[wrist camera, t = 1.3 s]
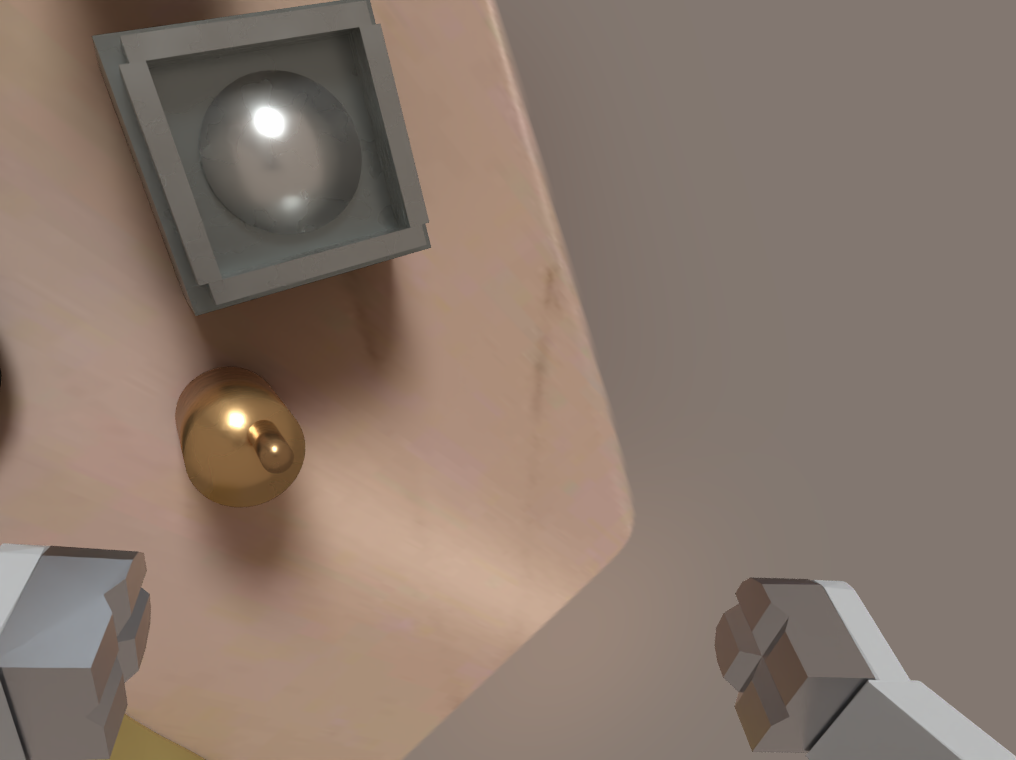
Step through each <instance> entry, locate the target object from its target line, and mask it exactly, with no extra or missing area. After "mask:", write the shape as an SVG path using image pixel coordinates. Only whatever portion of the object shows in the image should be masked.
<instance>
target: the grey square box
mask: <svg viewBox="0 0 1016 760" xmlns="http://www.w3.org/2000/svg"><path fill="white" fill-rule="evenodd" d="M92 38H93V43H94V47H95V52H96V57H97V61H98V65H99V68H100V71H101V73H102V76H103V79H104V81H105V84H106V87H107V89H108V92H109V95H110V98H111V100H112V103H113V106H114V108H115V111H116V114H117V116H118V119H119V122H120V124H121V127H122V130H123V132H124V135H125V138H126V141H127V143H128V146H129V149H130V151H131V154H132V157H133V159H134V162H135V165H136V167H137V170H138V173H139V175H140V178H141V181H142V183H143V186H144V189H145V192H146V194H147V197H148V200H149V202H150V205H151V208H152V210H153V213H154V216H155V218H156V221H157V224H158V226H159V229H160V232H161V235H162V237H163V240H164V243H165V245H166V248H167V251H168V253H169V256H170V259H171V261H172V264H173V267H174V269H175V272H176V275H177V277H178V280H179V283H180V286H181V288H182V291H183V294H184V296H185V299H186V300H187V302H188V304H189V305H190V307H191V309H192V310H193V312H194V314H195V315H196V316H197V315H201V314H204V313H208V312H211V311H214V310H218V309H221V308H225V307H228V306H232V305H235V304H239V303H242V302H245V301H249V300H252V299H256V298H259V297H263V296H266V295H270V294H273V293H276V292H280V291H283V290H287V289H290V288H294V287H297V286H301V285H304V284H307V283H311V282H314V281H318V280H321V279H325V278H328V277H332V276H335V275H338V274H342V273H345V272H349V271H352V270H356V269H359V268H363V267H366V266H369V265H373V264H376V263H380V262H383V261H387V260H390V259H394V258H397V257H400V256H404V255H407V254H411V253H414V252H418V251H421V250H425V249H428V248H431V245H430V241H429V237H428V233H427V229H426V225H425V223H429V219H428V215H427V211H426V207H425V203H424V199H423V195H422V191H421V187H420V183H419V179H418V175H417V171H416V167H415V163H414V158H413V154H412V150H411V146H410V142H409V138H408V134H407V130H406V126H405V122H404V118H403V114H402V110H401V106H400V102H399V97H398V93H397V89H396V85H395V81H394V77H393V73H392V69H391V65H390V61H389V57H388V53H387V49H386V45H385V41H384V37H383V32H382V28H381V24H376V23H375V19H374V15H373V11H372V7H371V3H370V0H341V1H334V2H327V3H319V4H312V5H305V6H298V7H291V8H284V9H277V10H270V11H263V12H256V13H249V14H242V15H235V16H228V17H221V18H214V19H207V20H200V21H193V22H186V23H179V24H172V25H165V26H158V27H151V28H144V29H137V30H130V31H123V32H116V33H109V34H102V35H95V36H92Z"/></svg>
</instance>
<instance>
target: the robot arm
mask: <svg viewBox="0 0 1016 760" xmlns="http://www.w3.org/2000/svg"><path fill="white" fill-rule="evenodd" d="M146 572H147V568H146V562H145V556H144V553H142V552H135V551H120V550H105V549H91V548H76V547H61V546H42V545H24V544H6V543H3V544H2V545H1V546H0V760H100V759H110V756H111V753H112V750H113V747H114V744H115V741H116V738H117V735H118V732H119V729H120V726H121V723H122V720H123V717H124V714H125V711H126V708H127V705H128V704H127V697H126V691H125V684H124V683H125V682H126V681H127V680H128V679H129V678H131V677H132V676H133V675H134V674H135V673H136V672H137V671H139V668H140V665H141V662H142V658H143V655H144V652H145V649H146V643H147V638H148V633H149V628H150V616H151V603H150V594H149V593H148V592H146V591H145V590H144V589H143V588H142V587H141V586H142V583H143V580H144V577H145V575H146ZM735 594H736V597H737V600H738V602H739V604H737V605H736V606H734V607H733V608H731V609H729V610H728V611H726V612H725V613H724V614H723V616H722V618H721V620H720V621H719V623H718V625H717V627H716V636H715V651H716V657H717V662H718V664H719V667H720V670H721V673H722V675H723V678H724V679H725V680H726V681H728V682H729V683H730V684H731V685H732V686H733V687H734V688H735V689H736V690H737V691H738V696H737V699H736V703H735V709H736V711H737V714H738V717H739V719H740V722H741V724H742V727H743V729H744V732H745V734H746V737H747V739H748V742H749V745H750V747H751V749H752V752H795V753H808V754H807V755H806V757H807V758H808V759H809V760H1016V756H1014V755H1013V754H1012V753H1011V752H1009V751H1008V750H1007V749H1005V748H1004V747H1003V746H1002V745H1000V744H999V743H998V742H997V741H995V740H994V739H993V738H992V737H990V736H989V735H988V734H986V733H985V732H984V731H983V730H981V729H980V728H979V727H978V726H976V725H975V724H974V723H973V722H971V721H970V720H969V719H967V718H966V717H965V716H964V715H962V714H961V713H960V712H959V711H957V710H956V709H955V708H954V707H952V706H951V705H950V704H948V703H947V702H946V701H944V700H943V699H942V698H941V697H940V696H938V695H937V694H936V693H934V692H933V691H932V690H931V689H929V688H928V687H927V686H925V685H924V684H923V683H922V682H920V681H914V680H910V679H909V677H908V676H907V674H906V673H905V671H904V669H903V668H902V666H901V664H900V663H899V661H898V660H897V658H896V656H895V655H894V653H893V651H892V650H891V648H890V647H889V645H888V643H887V642H886V640H885V638H884V637H883V635H882V634H881V632H880V631H879V629H878V627H877V626H876V624H875V622H874V621H873V619H872V617H871V616H870V614H869V613H868V611H867V609H866V608H865V606H864V604H863V603H862V601H861V600H860V598H859V596H858V595H857V593H856V591H855V590H854V589H853V588H852V587H851V586H850V585H849V584H847V583H846V582H844V581H824V580H808V579H784V578H749V579H747V580H745V581H743V582H742V583H741V585H740V587H739V588H738V590H737V592H736V593H735Z"/></svg>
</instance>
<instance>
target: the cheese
mask: <svg viewBox="0 0 1016 760" xmlns="http://www.w3.org/2000/svg"><path fill="white" fill-rule="evenodd" d="M100 760H205V759H204V758H202V757H200V756H198V755H197V754H195V753H193V752H191V751H189V750H187V749H186V748H184V747H182V746H180V745H178V744H176V743H174V742H172V741H170V740H168V739H166V738H164V737H162V736H160V735H159V734H157V733H155V732H153V731H151V730H150V729H148V728H146V727H145V726H143V725H141V724H140V723H138V722H136V721H135V720H133V719H132V718H130V717H129V716H127V715H125V714H124V717H123V720H122V723H121V726H120V729H119V732H118V735H117V738H116V741H115V744H114V747H113V750H112V753H111V756H110V759H100Z"/></svg>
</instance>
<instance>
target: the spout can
mask: <svg viewBox="0 0 1016 760" xmlns="http://www.w3.org/2000/svg"><path fill="white" fill-rule="evenodd" d="M175 420H176V426H177V430H178V435H179V439H180V444H181V449H182V453H183V458H184V462H185V467H186V471H187V474H188V476H189V478H190V480H191V482H192V484H193V485H194V486H195V487H196V489H197V490H198V491H199V492H200V493H201V494H202V495H204V496H205V497H207V498H208V499H210V500H212V501H214V502H216V503H219V504H221V505H225V506H230V507H250V506H255V505H259V504H262V503H265V502H268V501H270V500H272V499H273V498H275V497H277V496H278V495H280V494H281V493H282V492H284V491H285V490H286V489H287V488H288V487H289V486H290V485H291V484H292V483H293V481H294V480H295V478H296V477H297V475H298V473H299V472H300V469H301V467H302V464H303V461H304V456H305V441H304V436H303V432H302V430H301V428H300V425H299V424H298V422H297V421H296V419H295V418H294V416H293V415H292V414H291V413H290V411H289V410H288V409H287V407H286V406H285V405H284V404H283V402H282V401H281V400H280V398H279V397H278V396H277V395H276V393H275V392H274V391H273V389H272V388H271V387H270V386H269V384H268V383H267V382H266V381H265V380H264V379H262V378H261V377H260V376H258V375H257V374H255V373H253V372H251V371H249V370H246V369H243V368H237V367H221V368H216V369H212V370H209V371H207V372H205V373H203V374H201V375H199V376H198V377H196V378H195V379H194V380H192V381H191V382H190V383H189V384H188V385H187V386H186V388H185V389H184V390H183V392H182V394H181V395H180V397H179V400H178V402H177V406H176V412H175Z"/></svg>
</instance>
